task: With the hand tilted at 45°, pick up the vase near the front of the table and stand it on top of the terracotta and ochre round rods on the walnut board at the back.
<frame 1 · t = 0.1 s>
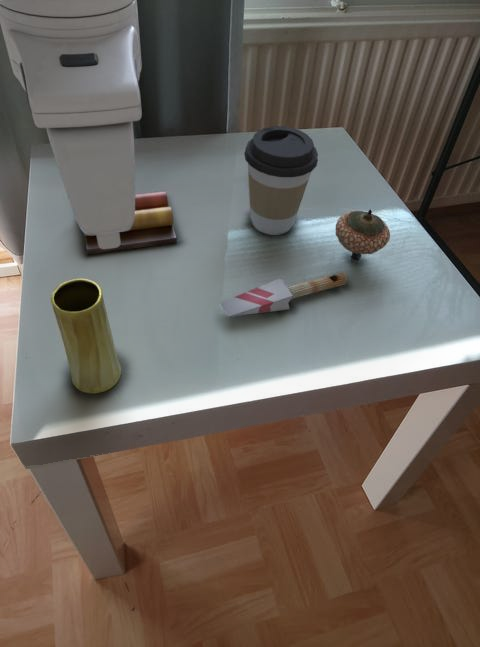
hand: (102, 209, 45), 25 cm above the table, tool pointing down, fingers open, 8 cm apart
rod rack: (127, 225, 83), on the table
vase: (96, 374, 64), on the table
acorn: (353, 260, 82), on the table
sheathed knife: (285, 300, 75), on the table
coffee cup: (271, 222, 87), on the table
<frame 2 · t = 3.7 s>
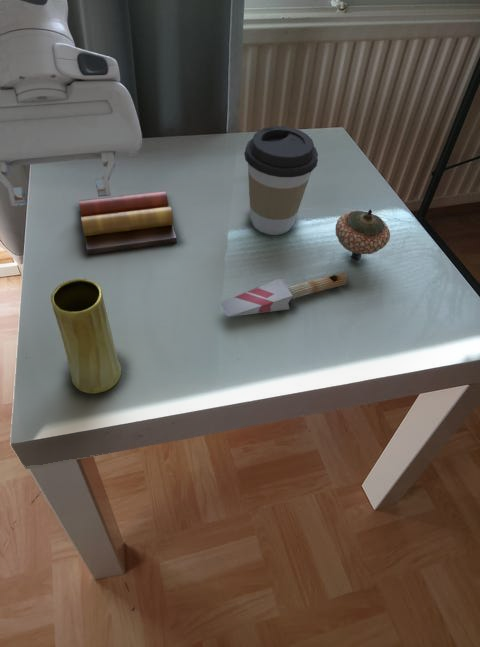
hand: (62, 200, 58), 18 cm above the table, tool tilted 45°, fingers open, 8 cm apart
nothing on the table moved.
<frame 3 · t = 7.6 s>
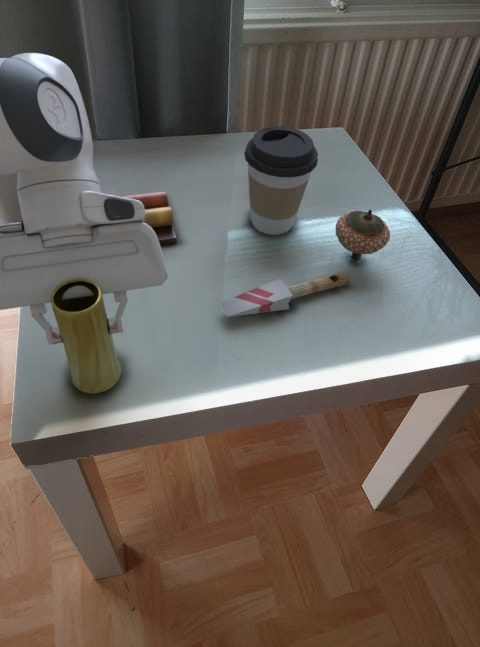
hand: (87, 338, 57), 8 cm above the table, tool tilted 45°, fingers closed on vase, 5 cm apart
vase: (96, 374, 64), on the table, touching gripper
everything else where it was.
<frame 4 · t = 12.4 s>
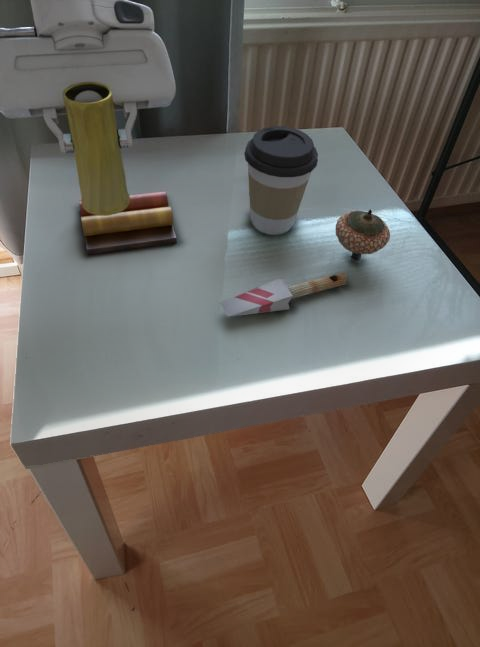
hand: (97, 149, 59), 21 cm above the table, tool tilted 45°, fingers closed on vase, 5 cm apart
vase: (106, 203, 65), point 13 cm above the table, touching gripper
everything else where it was.
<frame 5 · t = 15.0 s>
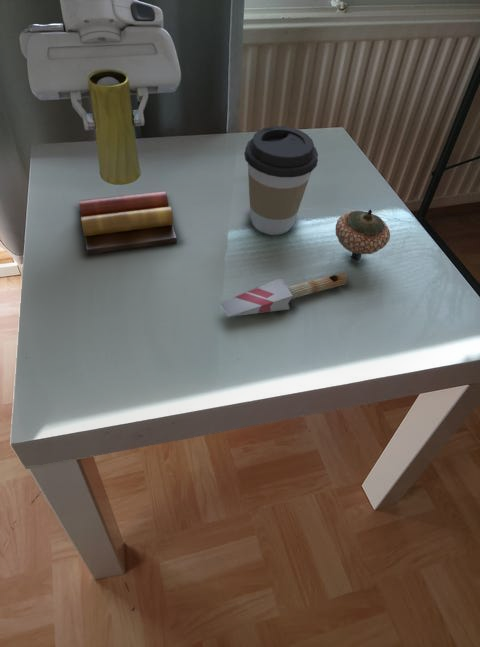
hand: (115, 126, 70), 18 cm above the table, tool tilted 45°, fingers closed on vase, 5 cm apart
vase: (120, 175, 76), point 9 cm above the table, touching gripper
everything else where it was.
when the fingers open (12 cm above the table, at t = 17.1 s): vase stays where it is, resting on rod rack.
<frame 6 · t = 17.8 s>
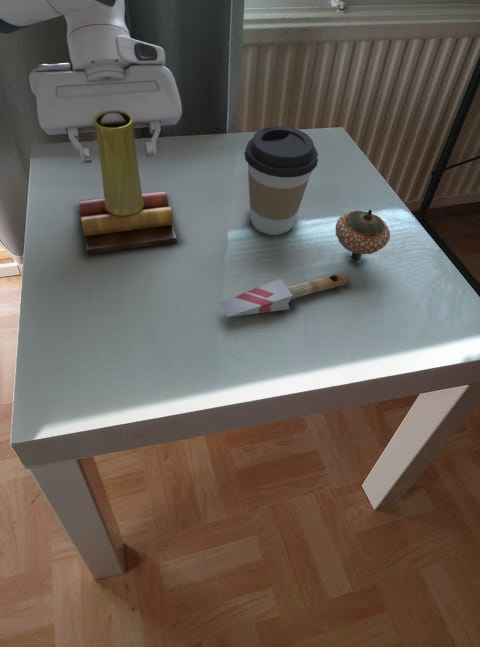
hand: (119, 159, 74), 13 cm above the table, tool tilted 45°, fingers open, 8 cm apart
vase: (124, 206, 81), point 4 cm above the table, touching rod rack
everything else where it was.
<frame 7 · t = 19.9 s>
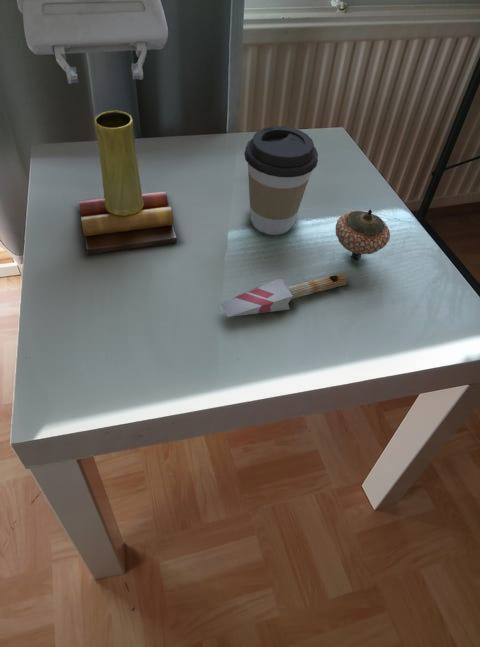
hand: (106, 80, 74), 20 cm above the table, tool tilted 45°, fingers open, 8 cm apart
nothing on the table moved.
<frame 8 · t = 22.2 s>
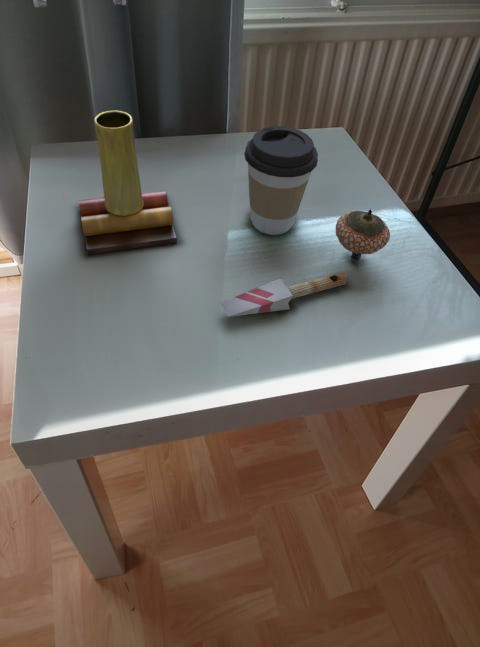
hand: (81, 4, 62), 31 cm above the table, tool pointing down, fingers open, 8 cm apart
nothing on the table moved.
at the end: vase 0.1 cm off-centre on the rod rack, point 3.8 cm above the rod rack's base; vase tilted 0°; the gripper is holding nothing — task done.
